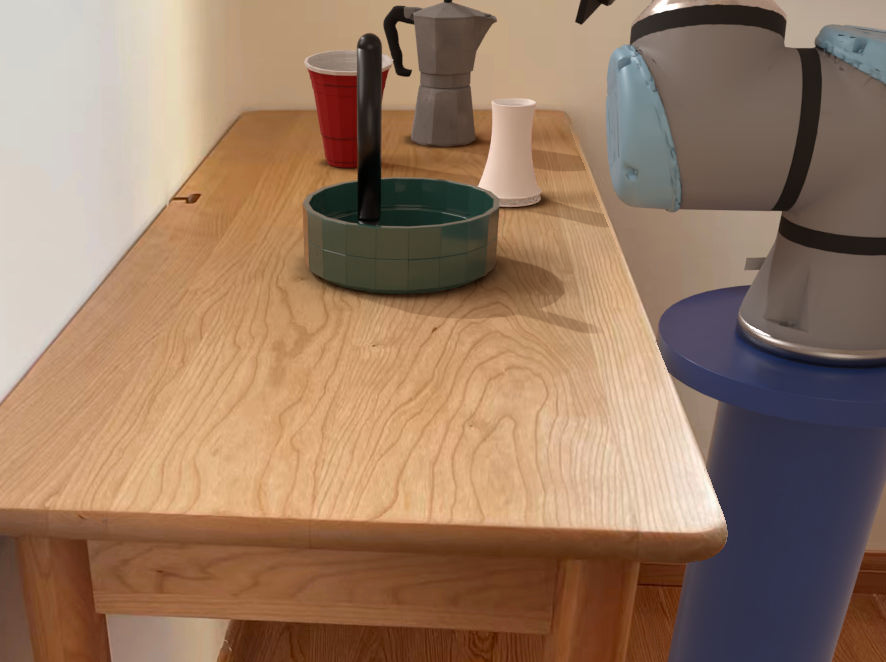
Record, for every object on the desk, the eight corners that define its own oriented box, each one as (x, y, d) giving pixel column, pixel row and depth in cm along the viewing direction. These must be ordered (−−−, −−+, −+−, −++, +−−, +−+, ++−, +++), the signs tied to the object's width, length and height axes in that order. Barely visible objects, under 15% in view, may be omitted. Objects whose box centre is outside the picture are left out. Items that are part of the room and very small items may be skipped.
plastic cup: (309, 174, 138) (306, 65, 131) (304, 154, 147) (301, 51, 140) (397, 172, 139) (399, 62, 132) (387, 152, 148) (388, 48, 141)
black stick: (394, 252, 110) (397, 29, 99) (389, 266, 107) (392, 36, 95) (349, 251, 111) (347, 29, 99) (343, 265, 107) (340, 36, 96)
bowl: (496, 241, 115) (501, 178, 111) (493, 300, 100) (498, 230, 97) (320, 237, 117) (318, 175, 113) (291, 294, 102) (289, 225, 99)
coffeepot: (499, 136, 155) (509, -17, 144) (478, 150, 148) (486, -9, 137) (395, 128, 160) (397, -20, 149) (370, 141, 153) (370, -13, 142)
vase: (466, 192, 131) (471, 97, 125) (529, 188, 132) (537, 94, 126) (483, 209, 125) (489, 110, 119) (549, 205, 126) (558, 106, 120)
